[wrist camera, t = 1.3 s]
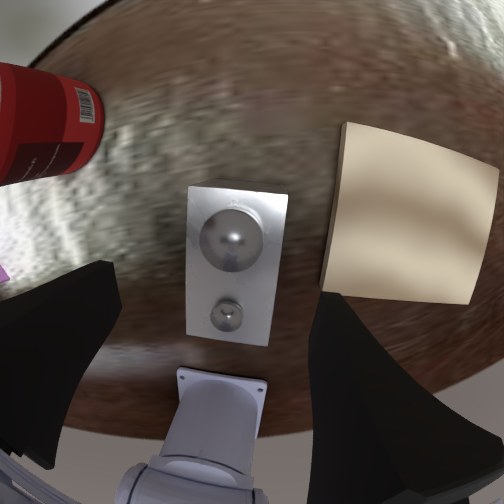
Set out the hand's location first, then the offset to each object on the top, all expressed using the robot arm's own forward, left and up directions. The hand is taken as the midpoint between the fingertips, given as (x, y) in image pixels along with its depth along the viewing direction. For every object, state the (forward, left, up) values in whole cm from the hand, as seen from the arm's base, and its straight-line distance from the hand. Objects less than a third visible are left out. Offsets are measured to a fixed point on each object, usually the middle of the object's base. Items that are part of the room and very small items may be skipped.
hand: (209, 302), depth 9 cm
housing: (-1, 0, -10) cm, 10 cm away
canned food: (+7, +15, -11) cm, 20 cm away
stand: (+2, -12, -10) cm, 16 cm away
